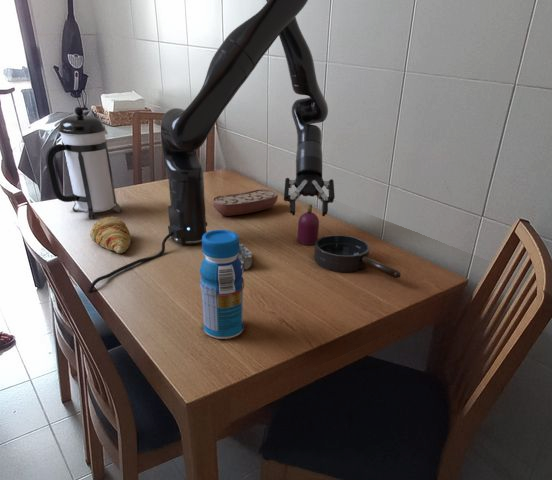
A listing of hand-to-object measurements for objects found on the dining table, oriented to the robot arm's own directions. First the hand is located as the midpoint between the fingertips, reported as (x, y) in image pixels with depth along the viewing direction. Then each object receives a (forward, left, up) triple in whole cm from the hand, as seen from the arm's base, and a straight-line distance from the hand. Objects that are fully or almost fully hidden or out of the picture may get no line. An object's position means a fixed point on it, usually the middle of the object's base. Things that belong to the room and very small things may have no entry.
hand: (308, 214), depth 135 cm
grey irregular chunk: (-26, 0, -7) cm, 27 cm away
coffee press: (-40, +56, -7) cm, 69 cm away
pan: (-3, -16, -7) cm, 18 cm away
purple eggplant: (-1, -1, -7) cm, 7 cm away
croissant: (-46, +30, -7) cm, 56 cm away
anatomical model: (0, +29, -8) cm, 30 cm away
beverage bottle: (-47, -25, -7) cm, 54 cm away
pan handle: (-3, -29, -5) cm, 30 cm away
